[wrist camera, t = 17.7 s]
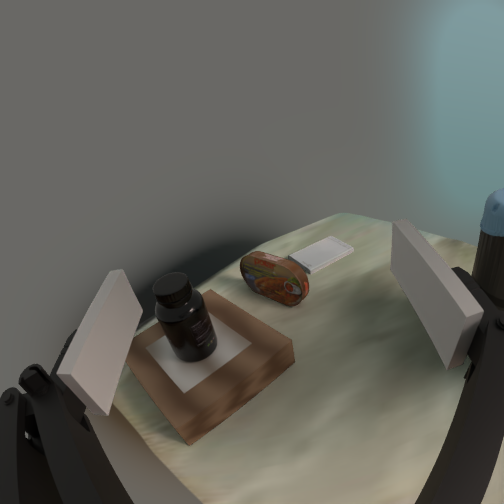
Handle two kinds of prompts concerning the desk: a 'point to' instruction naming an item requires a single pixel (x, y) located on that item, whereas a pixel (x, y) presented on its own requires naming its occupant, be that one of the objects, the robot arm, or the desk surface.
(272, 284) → the tin
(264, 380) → the plinth
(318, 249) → the hard drive
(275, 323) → the desk surface
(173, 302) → the supplement bottle
